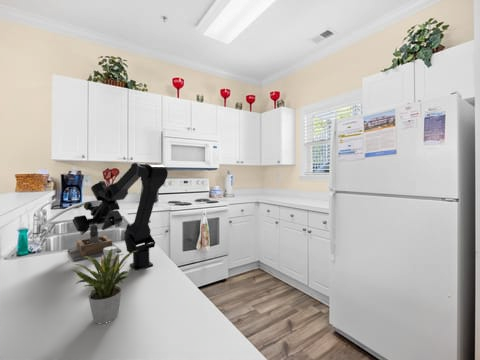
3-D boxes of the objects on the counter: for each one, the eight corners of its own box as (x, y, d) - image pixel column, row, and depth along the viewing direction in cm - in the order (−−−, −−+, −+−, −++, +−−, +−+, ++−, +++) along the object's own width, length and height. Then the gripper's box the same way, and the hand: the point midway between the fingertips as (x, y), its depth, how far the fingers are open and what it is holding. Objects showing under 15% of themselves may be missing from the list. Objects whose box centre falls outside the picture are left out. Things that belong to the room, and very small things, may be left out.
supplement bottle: (117, 278, 80) (117, 249, 80) (99, 280, 79) (99, 251, 78) (120, 271, 86) (120, 244, 85) (103, 273, 84) (103, 246, 84)
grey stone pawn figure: (92, 252, 103) (91, 224, 103) (83, 250, 106) (82, 223, 105) (105, 248, 108) (104, 222, 108) (96, 246, 111) (96, 220, 111)
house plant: (125, 293, 70) (124, 238, 70) (151, 311, 61) (150, 247, 61) (67, 316, 59) (65, 251, 59) (88, 342, 50) (86, 265, 50)
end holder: (121, 251, 106) (121, 241, 106) (74, 261, 95) (74, 249, 95) (110, 242, 120) (109, 233, 119) (68, 250, 108) (68, 239, 108)
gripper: (118, 193, 112) (105, 214, 118) (74, 196, 96) (61, 221, 102) (129, 211, 109) (115, 232, 115) (85, 218, 93) (71, 242, 99)
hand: (92, 231), depth 108 cm, fingers open, 9 cm apart
